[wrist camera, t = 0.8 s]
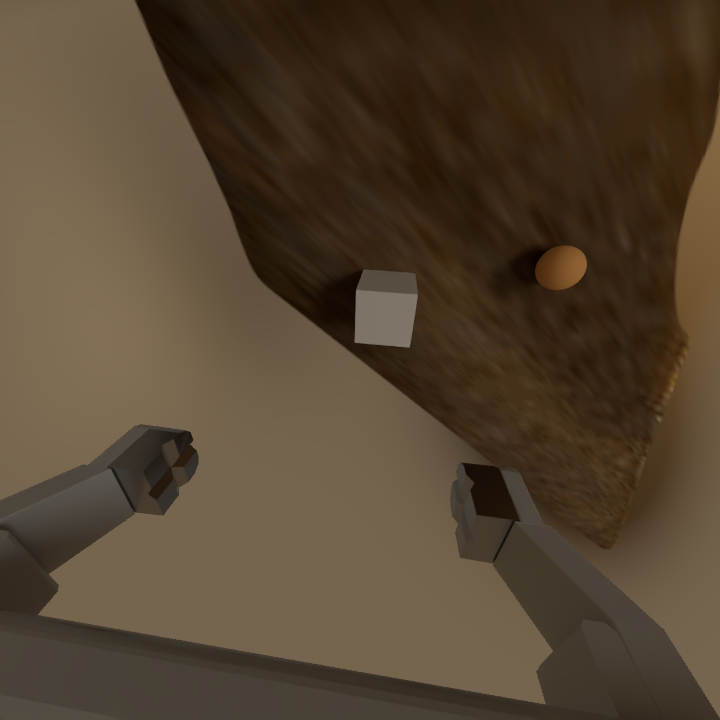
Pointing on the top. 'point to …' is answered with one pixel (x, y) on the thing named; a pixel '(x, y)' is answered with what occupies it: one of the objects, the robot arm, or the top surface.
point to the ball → (560, 267)
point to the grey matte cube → (385, 308)
